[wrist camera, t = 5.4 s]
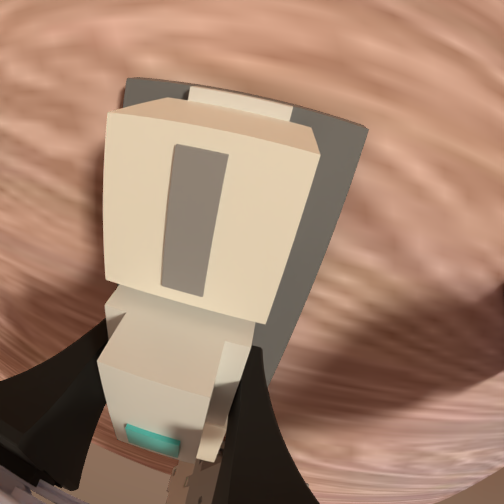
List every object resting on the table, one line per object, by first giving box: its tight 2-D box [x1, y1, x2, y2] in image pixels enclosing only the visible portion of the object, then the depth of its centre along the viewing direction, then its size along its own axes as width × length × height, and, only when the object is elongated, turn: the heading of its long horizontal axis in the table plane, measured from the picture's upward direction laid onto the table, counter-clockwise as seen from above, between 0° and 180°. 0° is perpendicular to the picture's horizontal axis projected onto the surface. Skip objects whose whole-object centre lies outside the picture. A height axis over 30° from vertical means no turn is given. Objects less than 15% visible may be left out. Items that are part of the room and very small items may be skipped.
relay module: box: [97, 284, 255, 464], centre depth 11 cm, size 5×4×6 cm
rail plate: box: [103, 77, 369, 462], centre depth 13 cm, size 18×9×6 cm, turn 168°
